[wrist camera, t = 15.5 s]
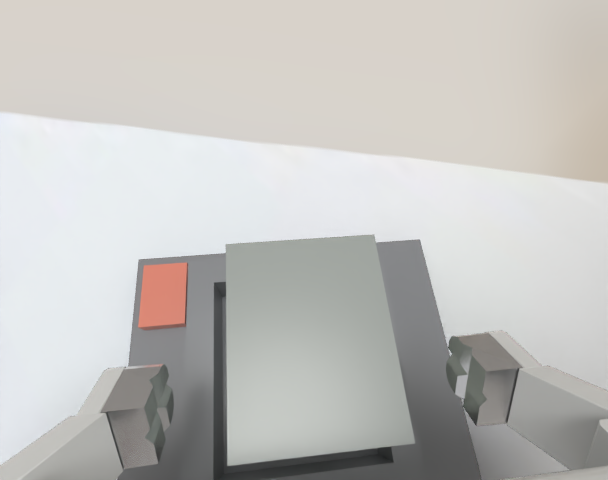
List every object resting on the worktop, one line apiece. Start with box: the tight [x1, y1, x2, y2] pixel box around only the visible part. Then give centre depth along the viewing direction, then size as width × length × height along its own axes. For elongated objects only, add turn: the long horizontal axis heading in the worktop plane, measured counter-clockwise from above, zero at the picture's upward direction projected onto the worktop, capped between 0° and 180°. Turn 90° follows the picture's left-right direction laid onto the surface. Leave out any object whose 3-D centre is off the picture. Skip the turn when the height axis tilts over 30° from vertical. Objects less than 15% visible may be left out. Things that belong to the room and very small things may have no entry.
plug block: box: [226, 235, 415, 466], centre depth 13 cm, size 4×5×10 cm
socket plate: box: [117, 240, 482, 480], centre depth 17 cm, size 16×13×4 cm
